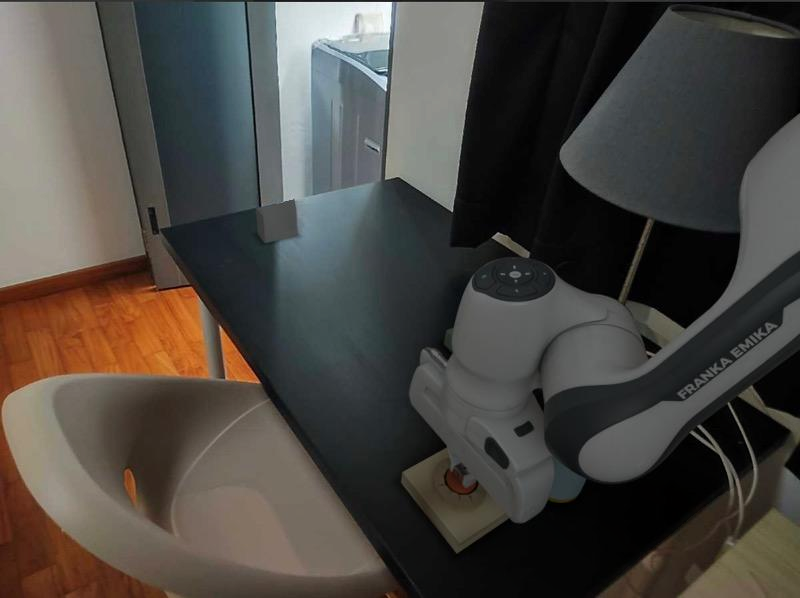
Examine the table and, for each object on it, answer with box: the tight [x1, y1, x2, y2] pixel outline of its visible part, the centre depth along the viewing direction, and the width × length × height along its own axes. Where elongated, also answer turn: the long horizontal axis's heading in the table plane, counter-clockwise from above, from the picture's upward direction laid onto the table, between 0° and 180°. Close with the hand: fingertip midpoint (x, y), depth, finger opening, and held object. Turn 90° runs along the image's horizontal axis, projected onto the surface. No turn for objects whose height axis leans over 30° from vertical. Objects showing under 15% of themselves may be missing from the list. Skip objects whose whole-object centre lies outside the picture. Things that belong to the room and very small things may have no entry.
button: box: [445, 470, 476, 495], centre depth 69 cm, size 4×4×2 cm
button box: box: [400, 447, 510, 554], centre depth 70 cm, size 11×9×4 cm
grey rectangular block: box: [255, 198, 298, 244], centre depth 112 cm, size 4×7×10 cm, turn 123°
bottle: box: [547, 456, 587, 504], centre depth 70 cm, size 7×7×15 cm
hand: (462, 477), depth 68 cm, fingers closed, pressing on button
